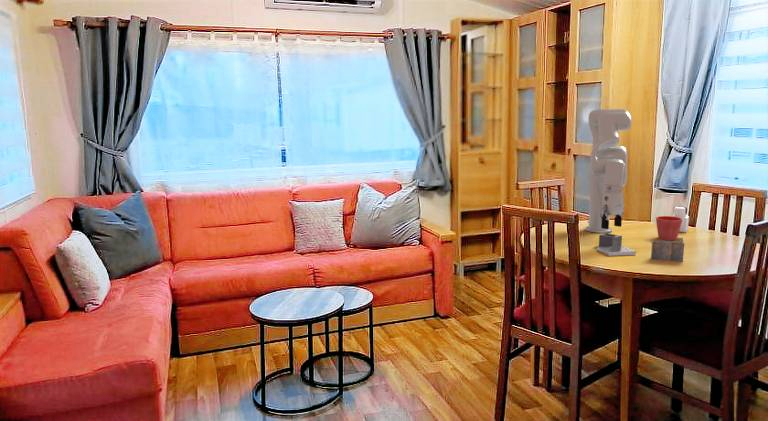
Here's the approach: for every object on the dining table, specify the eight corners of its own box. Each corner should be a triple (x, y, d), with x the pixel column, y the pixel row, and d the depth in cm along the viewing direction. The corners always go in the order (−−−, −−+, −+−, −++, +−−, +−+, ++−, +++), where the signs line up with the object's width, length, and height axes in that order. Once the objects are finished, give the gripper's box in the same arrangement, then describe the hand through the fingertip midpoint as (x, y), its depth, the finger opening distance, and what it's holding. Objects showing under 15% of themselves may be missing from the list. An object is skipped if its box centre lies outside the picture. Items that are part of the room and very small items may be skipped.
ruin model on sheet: (681, 260, 230) (683, 236, 229) (682, 262, 228) (684, 238, 226) (650, 258, 234) (652, 235, 232) (651, 260, 231) (653, 236, 229)
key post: (597, 250, 247) (597, 236, 246) (623, 249, 248) (624, 235, 247) (608, 256, 237) (609, 241, 236) (635, 254, 238) (636, 240, 237)
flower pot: (675, 242, 260) (676, 221, 259) (650, 238, 268) (652, 218, 267) (684, 238, 267) (686, 218, 266) (660, 235, 275) (662, 215, 274)
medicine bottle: (672, 228, 290) (673, 205, 288) (687, 229, 286) (689, 206, 284) (669, 230, 284) (671, 207, 282) (685, 232, 280) (687, 208, 278)
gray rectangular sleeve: (598, 246, 255) (599, 234, 254) (606, 244, 258) (607, 232, 257) (613, 248, 249) (614, 237, 248) (621, 246, 252) (622, 235, 252)
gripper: (609, 190, 241) (607, 230, 243) (632, 188, 251) (630, 226, 253) (593, 189, 247) (592, 228, 249) (616, 186, 257) (614, 224, 259)
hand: (611, 227), depth 251 cm, fingers open, 9 cm apart
